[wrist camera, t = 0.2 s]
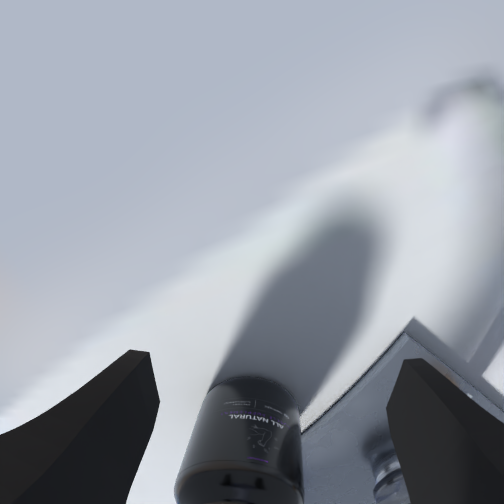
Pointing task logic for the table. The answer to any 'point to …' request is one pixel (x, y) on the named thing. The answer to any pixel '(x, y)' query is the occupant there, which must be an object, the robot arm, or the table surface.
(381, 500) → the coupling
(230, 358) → the table surface
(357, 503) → the base
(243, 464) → the supplement bottle
